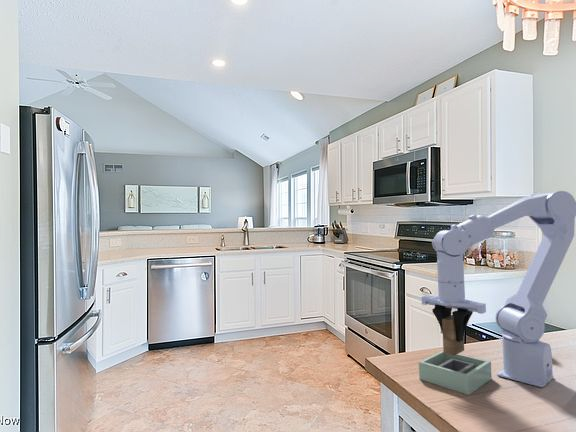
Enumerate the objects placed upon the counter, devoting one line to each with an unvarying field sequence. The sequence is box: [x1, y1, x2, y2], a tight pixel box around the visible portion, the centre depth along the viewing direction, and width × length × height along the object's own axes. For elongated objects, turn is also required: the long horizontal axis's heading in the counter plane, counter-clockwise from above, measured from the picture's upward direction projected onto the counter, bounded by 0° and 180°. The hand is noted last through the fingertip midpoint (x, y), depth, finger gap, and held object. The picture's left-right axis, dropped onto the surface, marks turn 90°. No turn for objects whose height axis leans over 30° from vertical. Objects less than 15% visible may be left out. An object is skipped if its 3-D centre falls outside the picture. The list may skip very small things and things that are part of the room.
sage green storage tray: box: [418, 349, 493, 396], centre depth 89 cm, size 12×12×4 cm
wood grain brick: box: [442, 314, 465, 356], centre depth 90 cm, size 2×5×8 cm, turn 130°
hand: (453, 339), depth 90 cm, fingers closed on wood grain brick, 2 cm apart
